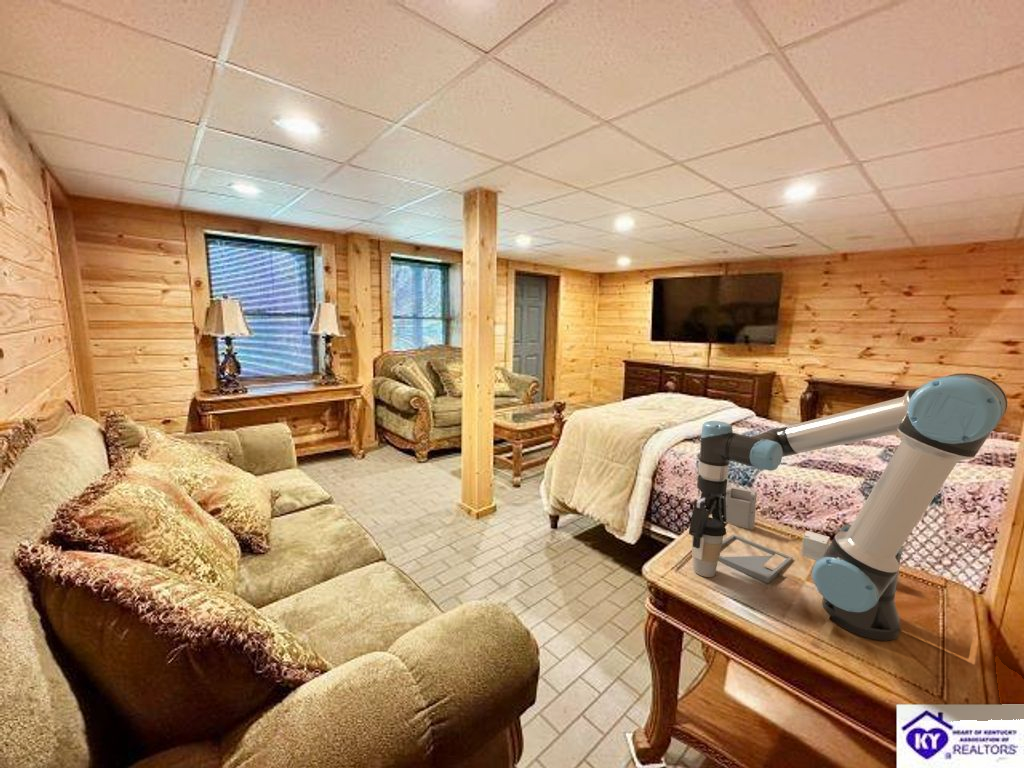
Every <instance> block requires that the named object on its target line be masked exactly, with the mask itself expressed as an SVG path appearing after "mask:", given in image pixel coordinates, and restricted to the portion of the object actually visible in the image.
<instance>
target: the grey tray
mask: <svg viewBox="0 0 1024 768" xmlns="http://www.w3.org/2000/svg"><path fill="white" fill-rule="evenodd" d="M734 539H735V540H736V541H737V540H738V541H739V542H742V543H744V544H746V545H749V546H751V547H754V548H756V549H758V550H760V551H763V552H765V553H767V554H770V555H750V556H749V555H747V556H746V555H745V556H742V555H741V556H721V555H720V556H719V560H718V563H719V562H720V563H721V564H724V565H725V566H727V567H730V568H731V569H733V570H736V571H738V572H740V573H742V574H744V575H746V576H748V577H750V578H753V579H755V580H758V581H759V582H762V583H764V584H766V585H769V584H771V582H772V581H773V580H775V579H776V577H778V576H780V575H781V573H780V572H781V571H782V570H783V569H785V567H786V566H788V564H789V563H791V562H792V561H793V556H790V555H787V554H785V553H783V552H779V551H776V550H775V549H772V548H769V547H766V546H763V545H761V544H758V543H756V542H753V541H751V540H749V539H745V538H743V537H741V536H739V535H735V534H732V535H730V536H728V537H727V538H726V539H723V543H722V547H724V546H725V545H727V544H728V543H729V542H731V541H732V540H734ZM775 555H777V556H780V557H783V558H785V560H784V561H783V562H781V563H780V564H778V566H777V567H776V568H774V569H771V568H769V567H767V566H765V565H766V564H767V563H768V561H770V560H772V558H773V557H774V556H775Z"/></svg>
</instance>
